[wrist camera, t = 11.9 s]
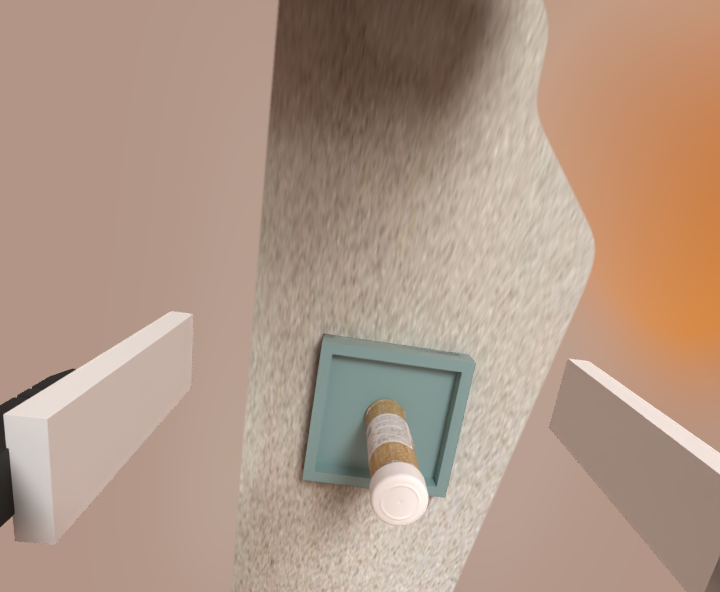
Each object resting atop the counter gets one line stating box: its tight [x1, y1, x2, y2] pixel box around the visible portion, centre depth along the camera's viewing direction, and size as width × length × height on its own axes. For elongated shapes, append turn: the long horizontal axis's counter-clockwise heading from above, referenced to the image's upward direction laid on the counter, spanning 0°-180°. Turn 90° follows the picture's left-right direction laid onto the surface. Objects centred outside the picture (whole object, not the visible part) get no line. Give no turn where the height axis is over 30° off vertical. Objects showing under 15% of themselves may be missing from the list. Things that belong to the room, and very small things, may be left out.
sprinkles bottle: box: [365, 399, 428, 525], centre depth 37 cm, size 5×5×14 cm
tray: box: [302, 334, 476, 498], centre depth 44 cm, size 16×16×2 cm
